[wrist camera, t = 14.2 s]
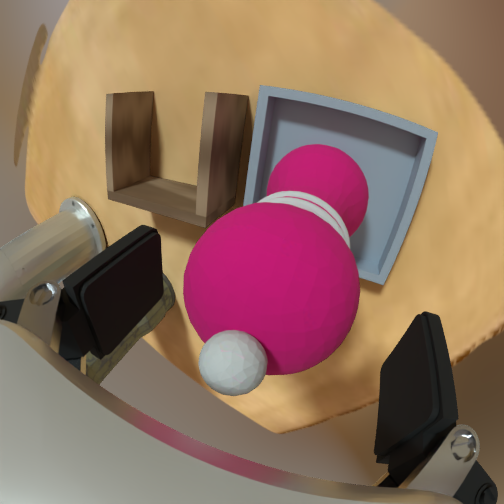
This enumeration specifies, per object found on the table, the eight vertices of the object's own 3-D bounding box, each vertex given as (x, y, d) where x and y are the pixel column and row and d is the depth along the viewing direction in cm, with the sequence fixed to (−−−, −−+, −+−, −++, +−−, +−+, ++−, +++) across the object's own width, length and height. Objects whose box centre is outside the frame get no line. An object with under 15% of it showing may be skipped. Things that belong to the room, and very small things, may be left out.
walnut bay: (234, 204, 28) (205, 227, 23) (143, 182, 30) (108, 199, 25) (248, 95, 22) (217, 92, 17) (146, 91, 24) (106, 94, 20)
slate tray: (381, 267, 25) (383, 285, 23) (250, 227, 28) (238, 239, 26) (428, 130, 18) (438, 132, 15) (271, 88, 21) (260, 85, 18)
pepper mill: (279, 210, 25) (135, 394, 9) (288, 132, 21) (73, 220, 5) (356, 228, 23) (320, 465, 7) (373, 149, 19) (447, 325, 3)
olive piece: (133, 241, 36) (-56, 411, 7) (193, 301, 37) (30, 504, 8) (117, 272, 41) (-33, 415, 12) (167, 323, 42) (35, 486, 14)
